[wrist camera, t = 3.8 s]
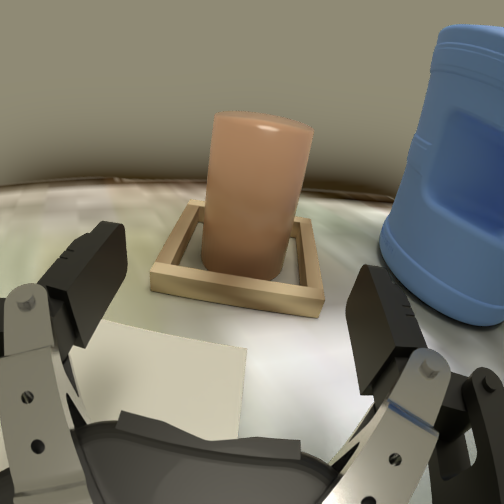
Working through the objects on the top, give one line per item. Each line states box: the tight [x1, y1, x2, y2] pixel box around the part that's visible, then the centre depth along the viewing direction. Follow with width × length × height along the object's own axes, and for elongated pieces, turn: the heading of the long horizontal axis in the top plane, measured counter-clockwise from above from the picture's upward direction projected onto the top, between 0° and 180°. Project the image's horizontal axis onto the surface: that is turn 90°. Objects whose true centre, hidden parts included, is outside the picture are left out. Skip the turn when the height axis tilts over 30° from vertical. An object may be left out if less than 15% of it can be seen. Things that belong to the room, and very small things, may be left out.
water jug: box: [379, 24, 504, 326], centre depth 18 cm, size 16×16×28 cm
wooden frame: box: [150, 199, 325, 318], centre depth 23 cm, size 10×10×2 cm
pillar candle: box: [201, 111, 314, 281], centre depth 21 cm, size 6×8×10 cm
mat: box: [0, 319, 247, 472], centre depth 11 cm, size 10×10×1 cm
